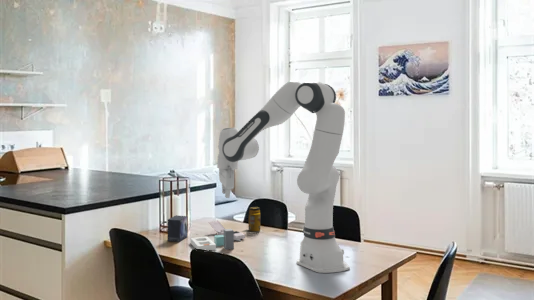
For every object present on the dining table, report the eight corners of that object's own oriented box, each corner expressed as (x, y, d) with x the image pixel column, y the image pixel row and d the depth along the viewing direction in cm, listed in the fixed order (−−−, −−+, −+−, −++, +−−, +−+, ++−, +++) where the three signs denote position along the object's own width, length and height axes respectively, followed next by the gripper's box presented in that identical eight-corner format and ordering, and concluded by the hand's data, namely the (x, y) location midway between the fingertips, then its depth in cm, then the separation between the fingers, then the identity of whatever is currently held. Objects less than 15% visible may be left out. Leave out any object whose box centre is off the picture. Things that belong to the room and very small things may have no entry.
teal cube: (225, 245, 238) (225, 236, 238) (216, 246, 237) (216, 237, 236) (222, 243, 242) (222, 234, 241) (214, 244, 240) (214, 235, 240)
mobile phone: (217, 220, 266) (248, 227, 247) (217, 231, 266) (248, 240, 247) (207, 222, 262) (238, 230, 243) (208, 233, 262) (238, 242, 244)
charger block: (233, 249, 231) (233, 230, 231) (225, 249, 230) (225, 231, 229) (231, 247, 235) (231, 228, 234) (223, 247, 233) (223, 229, 233)
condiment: (264, 231, 267) (264, 207, 266) (251, 233, 261) (251, 209, 260) (254, 228, 272) (254, 205, 271) (242, 231, 266) (241, 207, 266)
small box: (180, 242, 244) (180, 219, 243) (167, 241, 245) (166, 219, 244) (188, 237, 254) (187, 215, 253) (175, 236, 256) (175, 215, 255)
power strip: (216, 250, 229) (216, 243, 229) (198, 251, 227) (198, 245, 226) (207, 241, 244) (207, 236, 244) (190, 243, 242) (190, 237, 241)
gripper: (238, 168, 221) (236, 200, 222) (231, 161, 241) (229, 191, 242) (223, 167, 219) (221, 200, 221) (217, 161, 239) (215, 191, 241)
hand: (225, 195), depth 231 cm, fingers open, 8 cm apart
